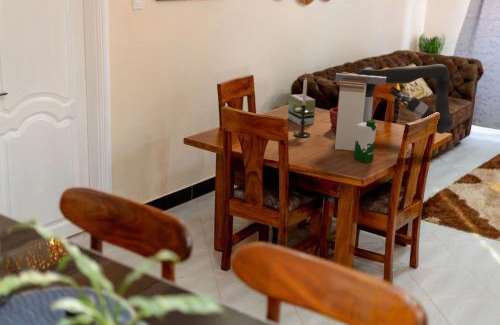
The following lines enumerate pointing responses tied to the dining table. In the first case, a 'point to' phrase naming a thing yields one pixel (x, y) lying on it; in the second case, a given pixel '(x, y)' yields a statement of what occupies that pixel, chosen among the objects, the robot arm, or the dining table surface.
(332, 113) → the plant pot
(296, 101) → the tea box
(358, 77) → the steel bar
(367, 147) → the milk carton
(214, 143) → the dining table surface
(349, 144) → the stand
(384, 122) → the dining table surface
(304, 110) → the candlestick
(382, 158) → the dining table surface
